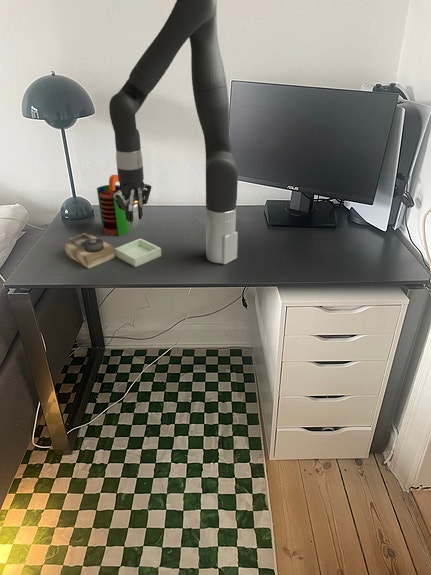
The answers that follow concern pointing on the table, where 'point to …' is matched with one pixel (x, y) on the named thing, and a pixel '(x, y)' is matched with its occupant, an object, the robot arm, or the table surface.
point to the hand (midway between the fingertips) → (134, 219)
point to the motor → (111, 209)
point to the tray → (137, 252)
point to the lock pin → (135, 213)
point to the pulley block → (89, 250)
